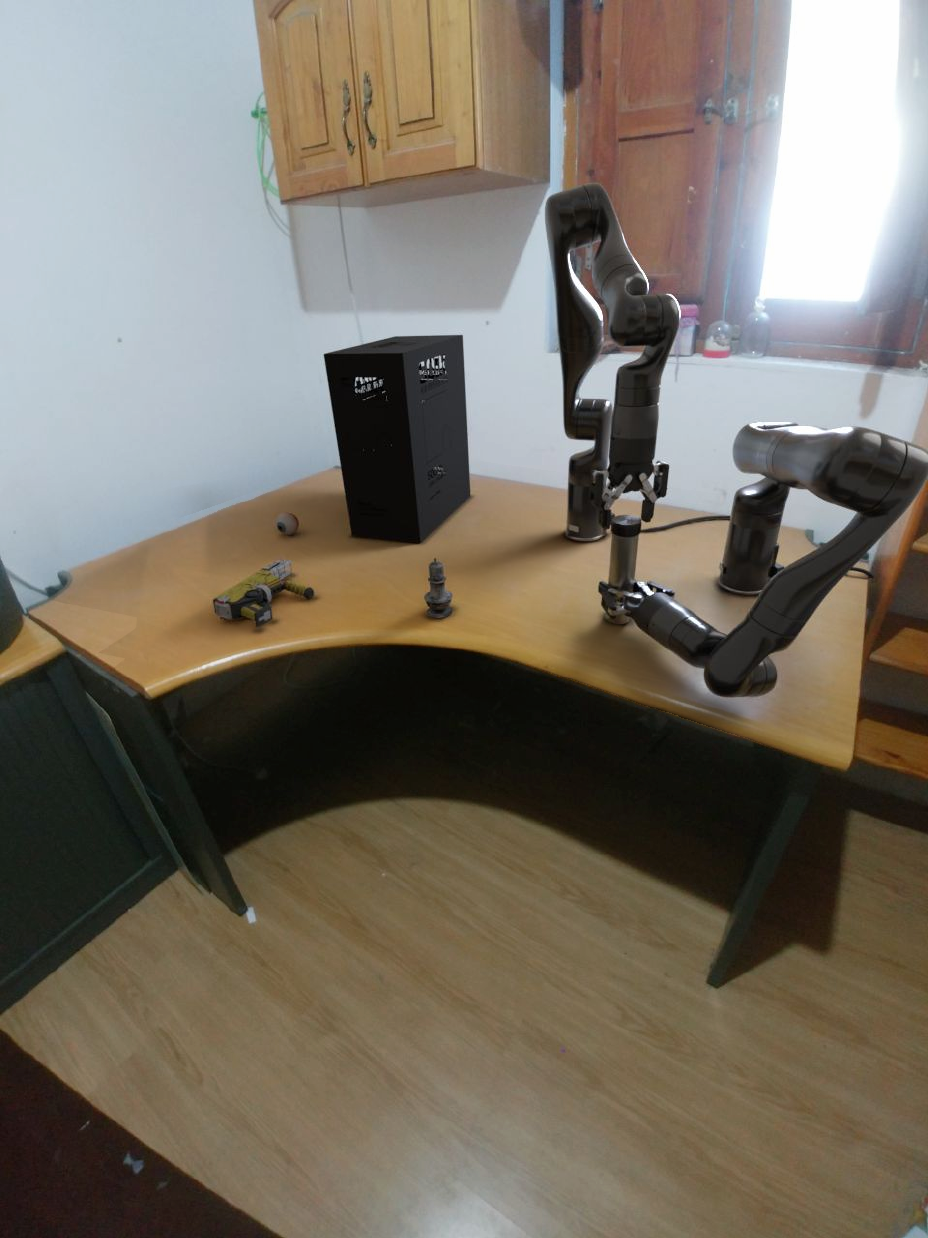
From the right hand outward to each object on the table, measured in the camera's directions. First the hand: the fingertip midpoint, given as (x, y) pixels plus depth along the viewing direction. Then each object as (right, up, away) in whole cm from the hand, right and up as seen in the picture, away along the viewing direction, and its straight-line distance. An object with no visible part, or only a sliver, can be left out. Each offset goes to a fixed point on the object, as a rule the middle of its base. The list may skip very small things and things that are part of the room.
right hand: (612, 582), depth 116 cm
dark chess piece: (-34, -6, +7) cm, 35 cm away
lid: (0, +10, -9) cm, 14 cm away
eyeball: (-77, +16, +49) cm, 92 cm away
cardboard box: (-43, +23, +57) cm, 75 cm away
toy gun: (-69, -3, +15) cm, 71 cm away
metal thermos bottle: (+1, -7, +1) cm, 7 cm away
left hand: (0, +10, -9) cm, 13 cm away
